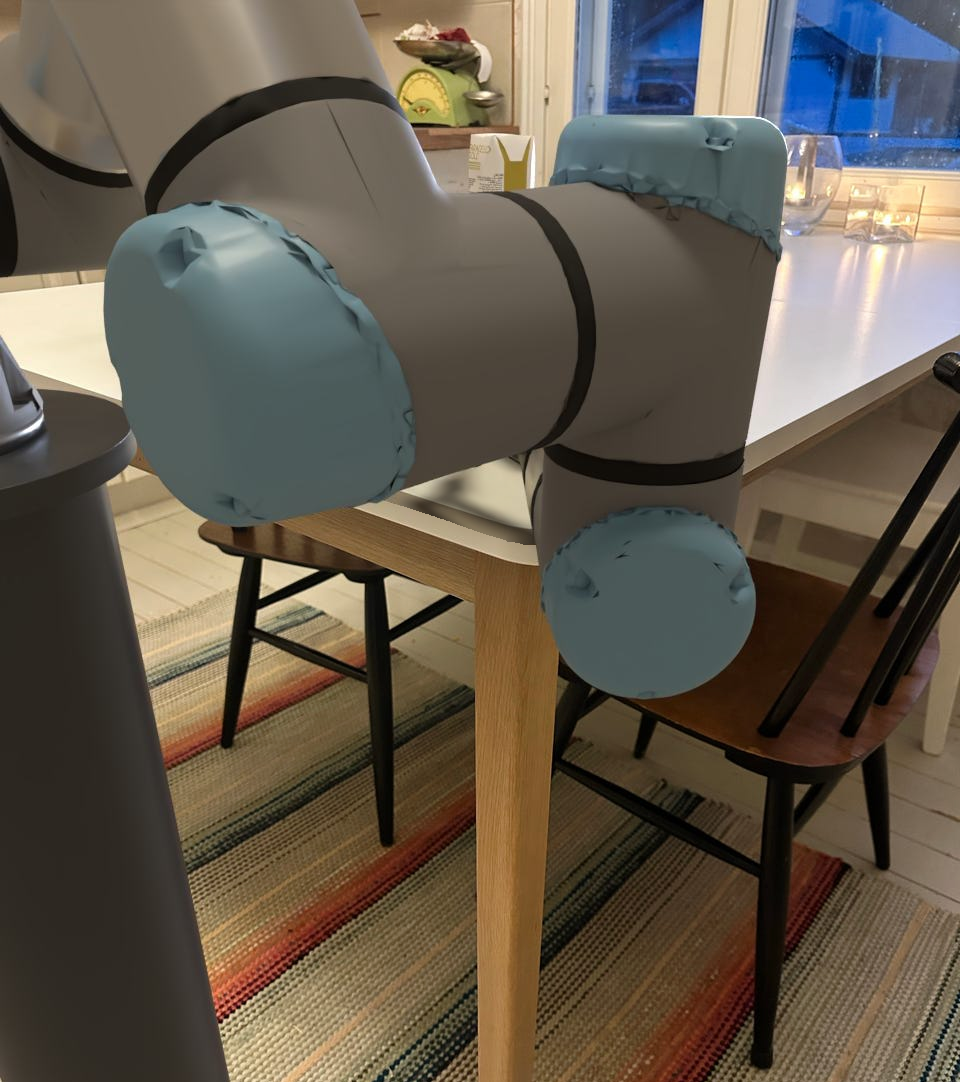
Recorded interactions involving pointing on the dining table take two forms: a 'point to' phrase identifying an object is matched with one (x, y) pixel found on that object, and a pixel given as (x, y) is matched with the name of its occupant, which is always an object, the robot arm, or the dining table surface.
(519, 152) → the juice carton
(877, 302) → the dining table surface
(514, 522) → the dining table surface
